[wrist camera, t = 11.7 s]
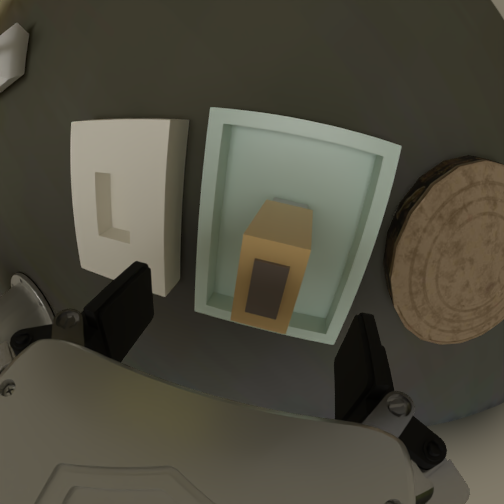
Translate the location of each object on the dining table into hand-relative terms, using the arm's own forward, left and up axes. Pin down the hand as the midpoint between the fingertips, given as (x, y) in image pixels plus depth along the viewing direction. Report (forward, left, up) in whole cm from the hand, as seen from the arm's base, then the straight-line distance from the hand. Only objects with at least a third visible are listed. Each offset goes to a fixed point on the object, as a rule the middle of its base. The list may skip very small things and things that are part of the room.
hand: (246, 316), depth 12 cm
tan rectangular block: (0, -1, -10) cm, 10 cm away
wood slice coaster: (+2, -16, -11) cm, 20 cm away
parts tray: (0, -1, -10) cm, 10 cm away
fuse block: (0, +13, -10) cm, 16 cm away
